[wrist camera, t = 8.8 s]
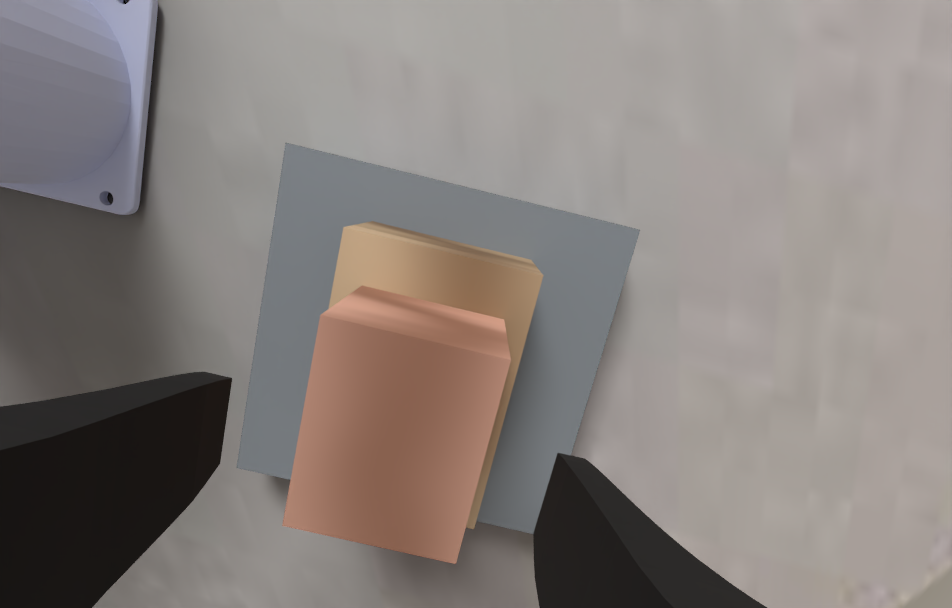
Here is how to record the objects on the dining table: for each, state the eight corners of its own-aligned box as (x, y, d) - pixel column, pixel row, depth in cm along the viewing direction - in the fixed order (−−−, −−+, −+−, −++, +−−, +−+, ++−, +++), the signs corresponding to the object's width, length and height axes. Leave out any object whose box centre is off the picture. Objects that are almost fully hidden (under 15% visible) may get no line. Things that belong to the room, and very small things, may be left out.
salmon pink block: (329, 448, 15) (282, 525, 11) (361, 285, 13) (320, 314, 10) (462, 478, 15) (455, 563, 11) (504, 319, 14) (510, 360, 10)
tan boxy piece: (330, 434, 18) (295, 489, 15) (372, 221, 17) (343, 227, 13) (476, 468, 18) (474, 529, 15) (531, 259, 17) (543, 275, 13)
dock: (265, 436, 21) (236, 467, 19) (311, 149, 19) (285, 142, 16) (538, 498, 21) (545, 536, 19) (619, 225, 19) (640, 229, 17)
